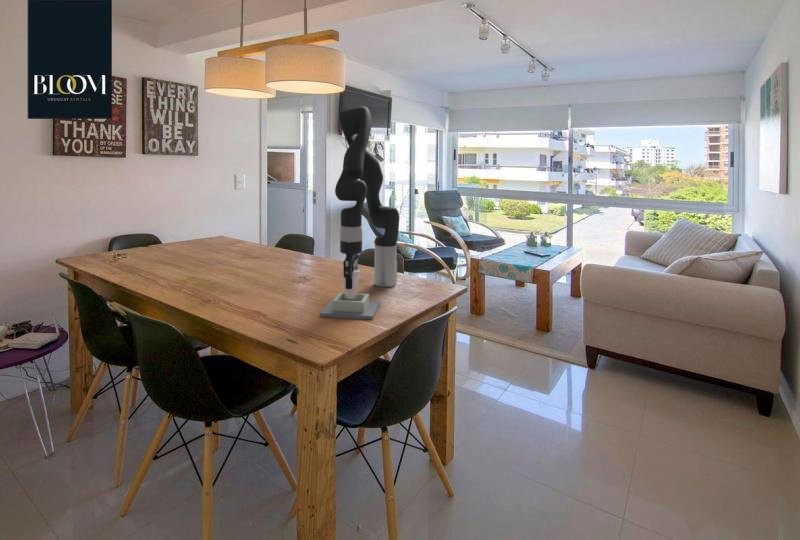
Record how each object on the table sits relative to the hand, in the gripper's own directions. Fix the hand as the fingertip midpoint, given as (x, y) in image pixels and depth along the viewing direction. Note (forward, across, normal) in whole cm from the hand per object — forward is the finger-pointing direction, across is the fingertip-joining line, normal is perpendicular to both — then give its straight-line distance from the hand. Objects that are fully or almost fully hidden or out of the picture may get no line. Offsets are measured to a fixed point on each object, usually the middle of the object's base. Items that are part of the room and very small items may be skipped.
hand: (351, 286), depth 169 cm
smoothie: (+4, 0, 0) cm, 4 cm away
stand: (+9, 0, 0) cm, 9 cm away
